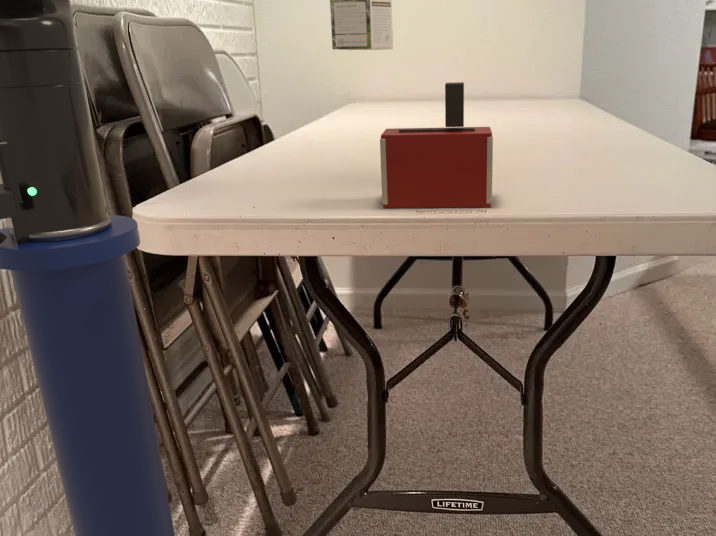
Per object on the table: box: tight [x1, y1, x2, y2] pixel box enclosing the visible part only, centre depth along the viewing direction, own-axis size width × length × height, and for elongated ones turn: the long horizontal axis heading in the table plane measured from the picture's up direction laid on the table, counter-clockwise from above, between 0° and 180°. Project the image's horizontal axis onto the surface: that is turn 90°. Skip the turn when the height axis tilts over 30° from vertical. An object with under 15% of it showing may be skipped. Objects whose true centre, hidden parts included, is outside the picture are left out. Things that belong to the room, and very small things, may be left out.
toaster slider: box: [444, 81, 465, 128], centre depth 79 cm, size 2×2×4 cm
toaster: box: [379, 126, 494, 209], centre depth 81 cm, size 12×6×8 cm, turn 86°
